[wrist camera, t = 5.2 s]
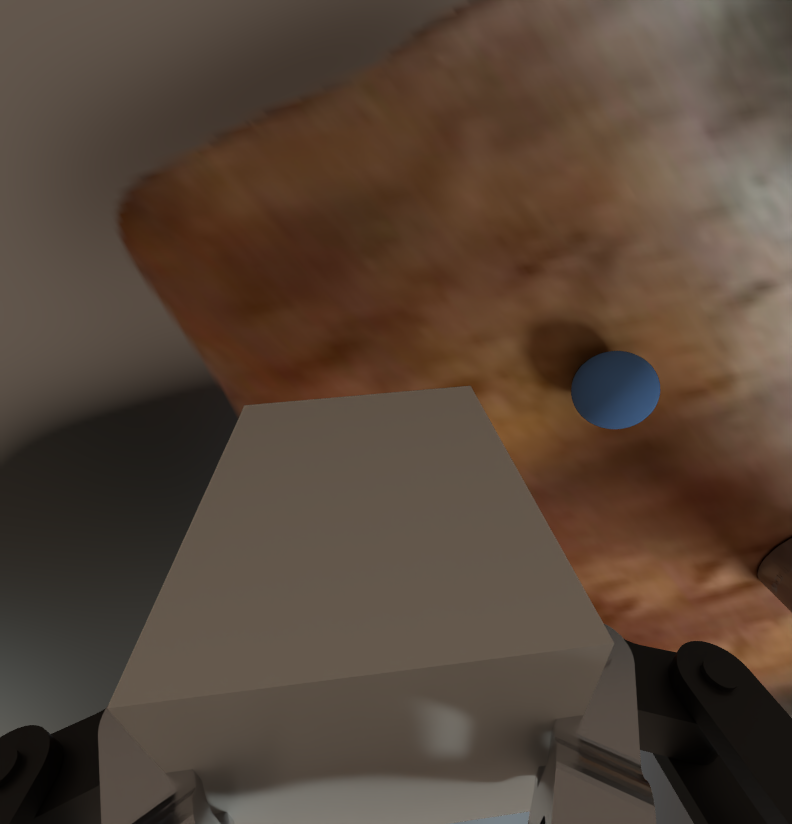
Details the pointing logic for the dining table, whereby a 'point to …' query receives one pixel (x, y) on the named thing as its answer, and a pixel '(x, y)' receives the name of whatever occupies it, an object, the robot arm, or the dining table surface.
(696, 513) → the dining table surface
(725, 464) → the dining table surface
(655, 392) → the blue egg
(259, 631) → the block
